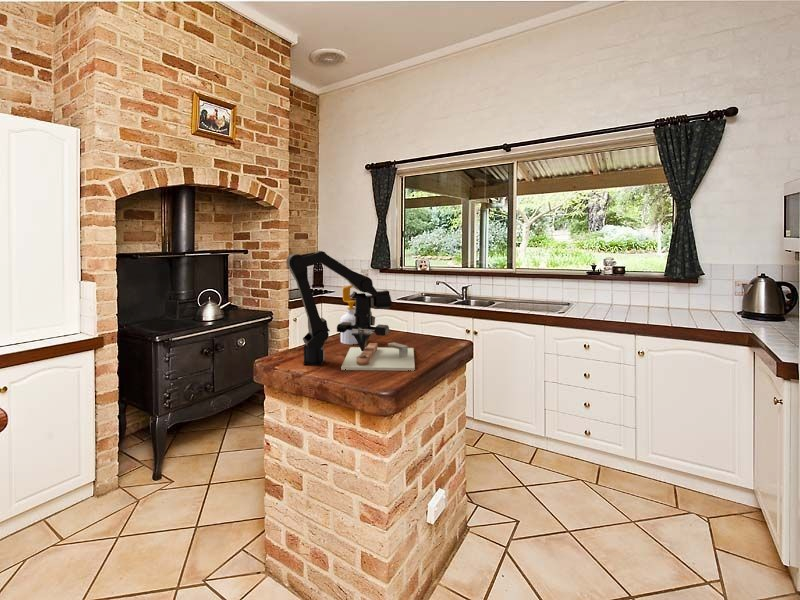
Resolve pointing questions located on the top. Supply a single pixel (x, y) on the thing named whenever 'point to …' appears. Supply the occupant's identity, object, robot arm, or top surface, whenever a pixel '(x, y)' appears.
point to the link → (367, 354)
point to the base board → (380, 360)
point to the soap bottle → (348, 318)
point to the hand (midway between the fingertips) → (362, 351)
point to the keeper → (400, 348)
